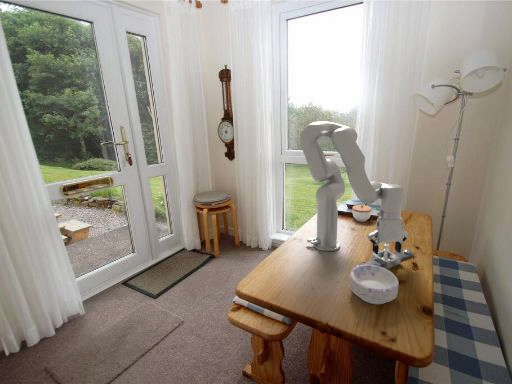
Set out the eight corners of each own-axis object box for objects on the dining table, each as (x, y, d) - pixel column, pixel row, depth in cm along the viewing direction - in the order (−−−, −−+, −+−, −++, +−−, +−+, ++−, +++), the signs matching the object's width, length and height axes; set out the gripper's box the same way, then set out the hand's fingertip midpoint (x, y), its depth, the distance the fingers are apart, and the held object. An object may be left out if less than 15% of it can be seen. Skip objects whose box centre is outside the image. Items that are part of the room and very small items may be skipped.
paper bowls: (375, 317, 81) (377, 296, 78) (340, 290, 94) (341, 271, 92) (406, 300, 87) (409, 280, 85) (369, 277, 100) (370, 259, 98)
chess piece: (387, 258, 113) (389, 237, 110) (393, 264, 108) (396, 243, 105) (376, 259, 113) (378, 238, 110) (382, 265, 108) (384, 243, 105)
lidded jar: (372, 223, 150) (373, 208, 147) (352, 222, 152) (353, 207, 150) (369, 216, 160) (370, 202, 157) (350, 216, 162) (351, 202, 160)
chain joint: (366, 276, 101) (366, 269, 100) (351, 266, 108) (352, 260, 108) (418, 257, 112) (418, 251, 111) (401, 249, 119) (402, 243, 119)
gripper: (374, 219, 100) (370, 258, 105) (416, 216, 101) (411, 254, 106) (365, 212, 108) (362, 249, 112) (405, 209, 108) (400, 246, 113)
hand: (386, 251), depth 109 cm, fingers open, 9 cm apart
